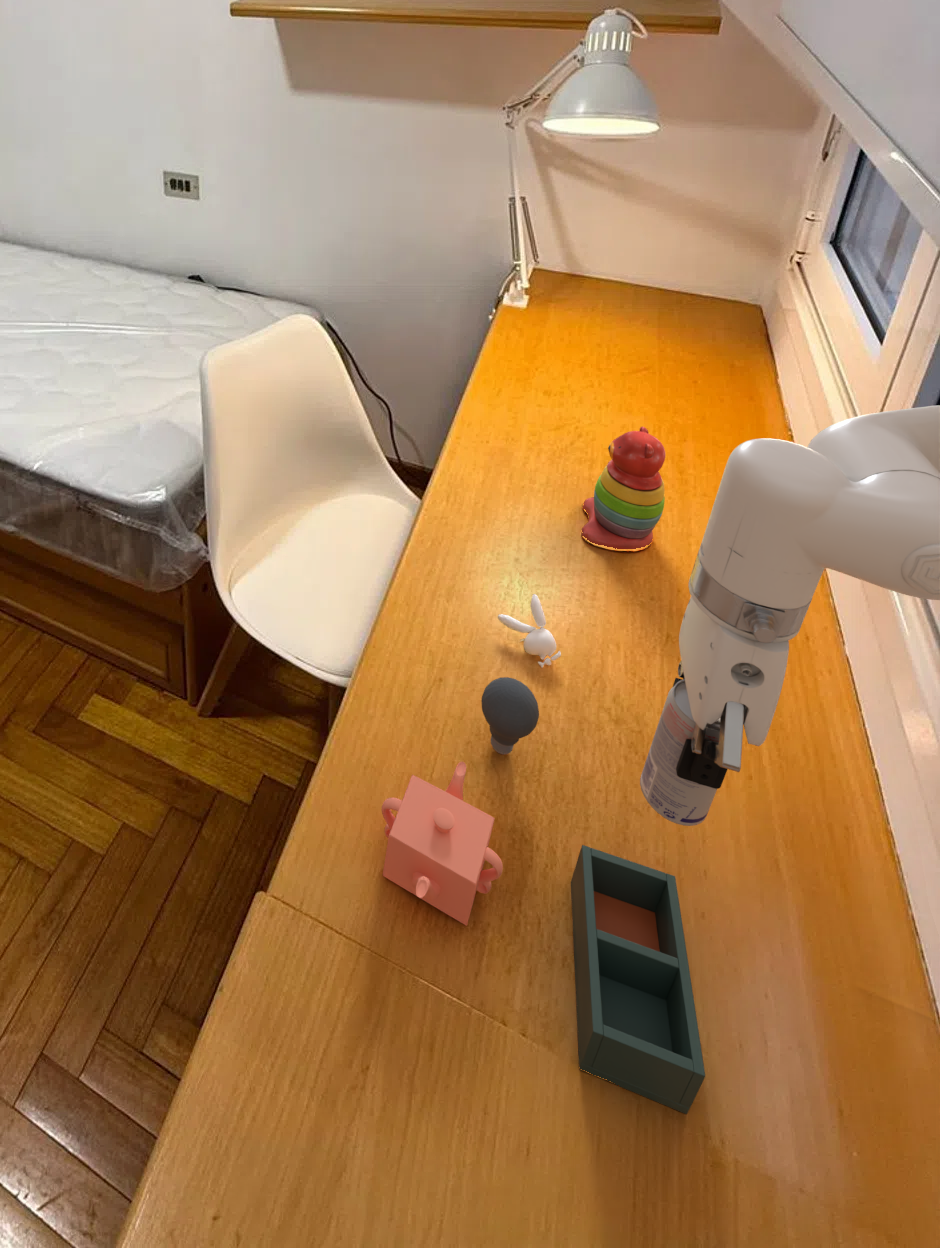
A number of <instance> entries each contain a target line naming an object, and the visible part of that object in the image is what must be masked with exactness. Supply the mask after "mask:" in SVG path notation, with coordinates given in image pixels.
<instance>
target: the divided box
mask: <svg viewBox="0 0 940 1248" xmlns="http://www.w3.org/2000/svg"><path fill="white" fill-rule="evenodd" d="M578 853H579V854H578V857H577V860H576V864H575V866H574V869H573V873H572V877H571V880H570V896H571V897H570V898H571V899H570V900H571V918H572V919H571V921H572V939H573V940H572V941H573V942H572V944H573V945H572V946H573V962H574V963H573V965H574V985H575V987H574V988H575V989H574V990H575V1007H576V1009H575V1011H576V1031H577V1032H576V1033H577V1034H576V1035H577V1054H578V1068H579V1067H580V1069H582V1070H585V1071H587V1072H589V1073H591V1074H593V1075H592V1076H594V1075H596V1076H599V1077H601V1078H604V1079H607V1080H608V1081H611V1082H613V1083H615V1084H616V1085H615V1084H614V1085H615V1086H618V1085H619V1086H618V1087H620V1088H622V1089H625V1090H628V1091H629V1092H632V1093H635V1094H637V1095H639V1096H641V1095H642V1097H644V1098H646V1099H648V1100H651V1101H654V1102H656V1103H658V1104H661V1105H663V1106H666V1107H668V1108H670V1109H673V1110H675V1111H678V1112H680V1113H682V1114H685V1115H688V1113H689V1111H690V1109H691V1108H692V1105H693V1103H694V1102H695V1099H696V1097H697V1095H698V1093H699V1091H700V1089H701V1087H702V1084H703V1083H704V1080H705V1078H706V1070H705V1063H704V1057H703V1051H702V1044H701V1038H700V1031H699V1024H698V1018H697V1012H696V1004H695V999H694V992H693V984H692V977H691V971H690V965H689V958H688V952H687V945H686V944H687V943H686V939H685V933H684V932H685V931H684V925H683V918H682V912H681V905H680V898H679V892H678V886H677V879H676V876H675V875H672V874H670V873H667V872H664V871H661V870H658V869H655V868H652V867H650V866H646V865H643V864H640V863H637V862H635V861H632V860H629V859H625V858H623V857H620V856H617V855H614V854H610V853H608V852H605V851H603V850H602V851H601V850H599V849H596V848H594V847H590V846H587V845H585V844H582V845H581V847H580V850H579V852H578ZM580 1069H579V1070H580ZM582 1070H581V1071H582ZM589 1073H588V1074H589ZM591 1074H590V1075H591ZM596 1076H595V1077H596ZM601 1078H600V1079H601ZM608 1081H607V1082H608ZM613 1083H612V1084H613Z"/></svg>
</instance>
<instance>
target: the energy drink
mask: <svg viewBox="0 0 940 1248" xmlns="http://www.w3.org/2000/svg"><path fill="white" fill-rule="evenodd" d="M682 679H683V678H682ZM694 725H695V721H694V719H693V717H692V713H691V709H690V704H689V699H688V694H687V689H686V683H685V679H683V680H680V681H679V682H677V683H676V684H675V686H674V687H673V686H672V687H671V688H670V690H669V691H668V693H667V696H666V699H665V702H664V704H663V708H662V711H661V714H660V717H659V720H658V723H657V726H656V729H655V733H654V735H653V738H652V742H651V744H650V747H649V750H648V752H647V756H646V760H645V762H644V765H643V767H642V768H643V769H642V771H641V775H640V778H639V785H640V790H641V792H642V795H643V797H644V798H645V801H646V802H647V803H648V804H649V806H650V807H651V808H652V809H653V810H654V811H655V812H656V813H657V814H659V816H661V817H662V818H663V819H666V820H668V821H669V822H671V823H674V824H676V825H679V826H686V827H692V826H693V827H694V826H698V825H699V824H702V823H703V822H704V821H705V819H707V817H708V814H709V811H710V809H711V807H712V803H713V801H714V799H715V796H716V793H717V792H718V789H715V788H711V787H708V786H704V785H701V784H698V783H695V782H692V781H689V780H686V779H682V778H680V777H678V776H677V772H676V767H677V764H678V761H679V758H680V755H681V752H682V750H683V747H684V744H685V741H686V739H692V735H693V730H694ZM719 733H720V731H717V730H714V729H710V728H707V729H706V734H705V739H707V740H710V741H713V742H717V743H719Z"/></svg>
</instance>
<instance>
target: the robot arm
mask: <svg viewBox="0 0 940 1248" xmlns="http://www.w3.org/2000/svg"><path fill="white" fill-rule="evenodd" d="M711 508H712V509H711V512H710V515H709V518H708V521H707V524H706V526H705V527H706V528H705V531H704V533H703V537H702V540H701V543H700V546H699V549H698V552H697V554H696V558H695V561H694V564H693V567H692V570H691V572H690V576H689V579H688V590H689V595H690V598H689V600H688V602H687V604H686V605H687V606H686V609H685V611H684V614H683V617H682V621H681V624H680V629H679V634H678V648H679V654H680V660H681V661H680V662H679V663H678V666H677V676H678V677H675V678H674V682H673V685H672V687H674V686H675V684H676V683H677V682H679V681H680V680H683V679H685V683H686V689H687V694H688V699H689V704H690V709H691V713H692V717H693V719H694V721H695V725H694V730H693V735H692V739H686V741H685V744H684V747H683V750H682V752H681V755H680V758H679V761H678V764H677V767H676V772H677V776H678V777H680V778H682V779H686V780H689V781H692V782H695V783H698V784H701V785H704V786H708V787H711V788H715V789H717V790H718V789H721V787H722V784H723V782H724V780H725V777H726V774H727V772H728V770H729V771H733V772H736V773H740V772H741V769H742V754H743V738H744V737H743V736H744V735H743V734H744V732H745V737H746V740H747V741H746V742H747V744H749V745H753V746H756V747H760V746H762V745H763V744H764V743H765V741H766V739H767V737H768V733H769V731H770V728H771V725H772V722H773V719H774V716H775V713H776V711H777V706H778V703H779V700H780V696H781V693H782V689H783V684H784V681H785V677H786V672H787V667H788V660H789V651H790V642H789V641H791V640H792V639H794V638H795V637H796V636H797V635H798V634H799V632H800V630H801V628H802V625H803V623H804V620H805V618H806V616H807V613H808V610H809V607H810V605H811V603H812V601H813V597H814V595H815V592H816V590H817V587H818V585H819V583H820V580H821V578H822V576H823V573H824V571H825V569H829V570H832V571H835V572H838V573H841V574H844V575H847V576H850V577H852V578H855V579H858V580H861V581H863V582H866V583H869V584H871V585H875V586H877V587H880V588H882V589H886V590H889V591H891V592H895V593H897V594H901V595H904V596H910V597H913V598H917V599H923V600H932V601H933V600H934V601H940V405H939V404H938V405H928V406H927V405H926V406H919V407H910V408H902V409H895V410H886V411H879V412H873V413H872V412H871V413H867V414H862V415H858V416H853V417H852V418H846V419H843V420H839V421H838V422H835V423H832V424H831V425H829V426H827V427H826V428H824V429H822V430H820V431H819V432H818V433H817V434H816V435H814V436H813V438H812V439H811V440H810V441H809V443H808V445H807V446H804V445H802V444H799V443H796V442H793V441H789V440H785V439H779V438H770V437H766V438H765V437H763V438H761V437H760V438H752V439H749V440H745V441H743V442H742V443H740V444H739V445H737V446H736V447H735V448H734V449H733V450H732V452H730V455H728V458H727V461H726V464H725V467H724V470H723V474H722V477H721V479H720V483H719V486H718V489H717V493H716V495H715V499H714V502H713V504H712V507H711ZM707 728H710V729H714V730H717V731H720V733H719V743H717V742H713V741H710V740H707V739H705V734H706V729H707ZM743 731H744V732H743Z"/></svg>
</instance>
